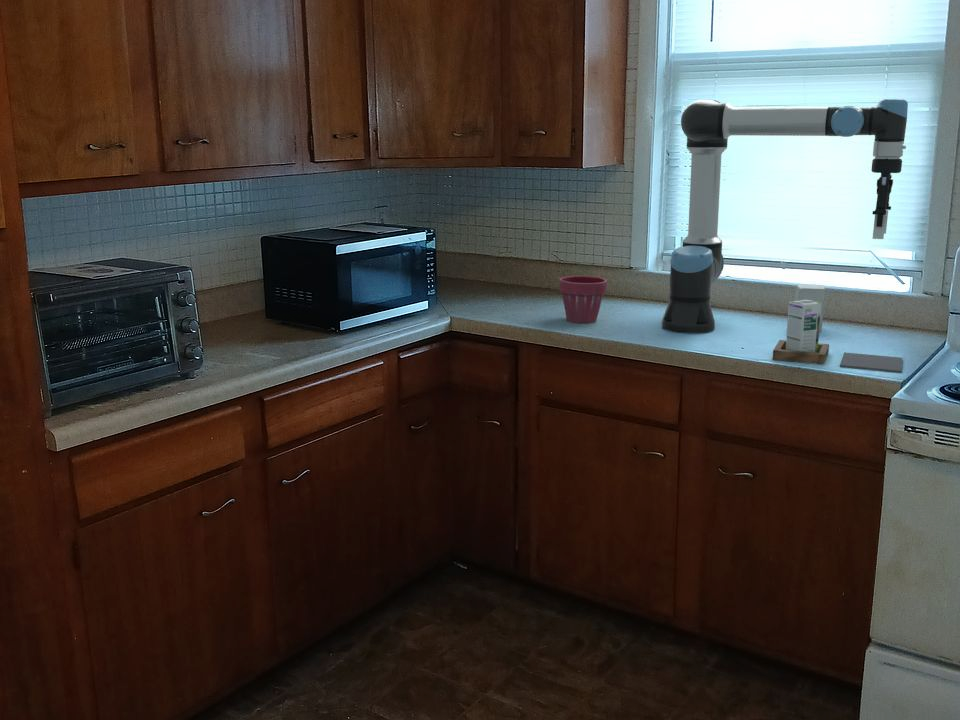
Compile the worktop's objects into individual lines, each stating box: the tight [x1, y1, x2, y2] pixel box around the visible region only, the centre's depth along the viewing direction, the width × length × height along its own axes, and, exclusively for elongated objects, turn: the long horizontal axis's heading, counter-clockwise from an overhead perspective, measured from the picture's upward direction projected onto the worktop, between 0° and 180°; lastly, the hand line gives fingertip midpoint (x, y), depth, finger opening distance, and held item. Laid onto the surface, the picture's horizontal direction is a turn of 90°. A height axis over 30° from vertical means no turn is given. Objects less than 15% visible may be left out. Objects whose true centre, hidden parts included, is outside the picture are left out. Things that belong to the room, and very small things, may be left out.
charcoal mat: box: [839, 351, 903, 374], centre depth 237 cm, size 14×14×1 cm
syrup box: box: [785, 300, 821, 353], centre depth 242 cm, size 6×6×14 cm
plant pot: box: [558, 275, 608, 324], centre depth 286 cm, size 14×14×13 cm
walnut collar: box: [772, 339, 830, 365], centre depth 243 cm, size 12×12×2 cm
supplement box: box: [794, 284, 826, 333], centre depth 274 cm, size 7×7×13 cm
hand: (879, 236), depth 261 cm, fingers open, 13 cm apart
